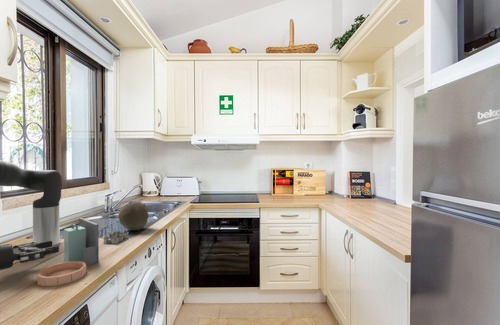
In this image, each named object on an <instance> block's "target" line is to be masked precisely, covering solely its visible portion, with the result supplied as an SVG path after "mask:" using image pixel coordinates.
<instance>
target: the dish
mask: <svg viewBox="0 0 500 325" xmlns="http://www.w3.org/2000/svg"><path fill="white" fill-rule="evenodd" d="M36 274H37V275H36V278H37V279H36V282H37V285H38V286H42V287H53V286H56V287H57V286H60V285H65V284H68V283H73V282H74V281H77V280H79V279H81V278H83V276H84V275H86V274H87V266H86V264H85V262H82V261H81V262H80V261H70V262H64V261H63V262H59V263H55V264H52V265H49V266H46V267H43V268H41V269H40V270H39V271H37V273H36Z"/></svg>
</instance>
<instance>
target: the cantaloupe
mask: <svg viewBox="0 0 500 325" xmlns="http://www.w3.org/2000/svg"><path fill="white" fill-rule="evenodd" d="M117 216H118V217H117V218H118V221H119V222H120V224H121V226H122V227H123V228H125V229H127V230H129V231H139V230H142V229H143V228H144V227H146V225H147V223H148V219H149V213H148V209H146V206H145V205H144V204H142V203H140V202H131V203H126V204H124V205H122V207H121V208H120V210H119V212H118V215H117Z"/></svg>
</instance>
